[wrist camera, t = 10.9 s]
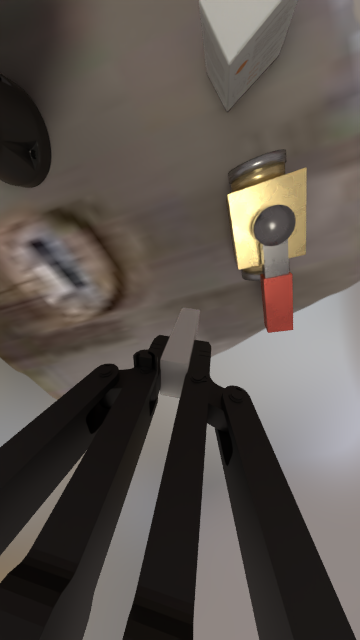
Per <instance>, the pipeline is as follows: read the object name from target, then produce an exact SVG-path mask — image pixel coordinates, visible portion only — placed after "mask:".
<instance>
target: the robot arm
mask: <svg viewBox="0 0 360 640" xmlns="http://www.w3.org/2000/svg"><path fill="white" fill-rule="evenodd" d="M49 165H50V143H49V138H48V134H47V130H46V127H45V124H44V122H43V119H42V117H41V115H40V113H39V111H38V109H37V107H36V106H35V104H34V103H33V101H32V100H31V99H30V97H29V96H28V95H27V94H26V93H25V91H24V90H23V89H21V88H20V87H19V86H18V85H17V84H15V83H14V82H12V81H11V80H9V79H8V78H6V77H5V76H3V75H1V74H0V180H2V181H3V182H5V183H8V184H11V185H14V186H20V187H34V186H37V185H38V184H40V183H41V182H42V181H43V180H44V178H45V177H46V175H47V173H48V170H49ZM199 315H200V310H197V309H189V308H182V309H181V312H180V314H179V316H178V319H177V321H176V323H175V326H174V328H173V330H172V333H171V335H170V336H163V335H159V336H157V337H156V338H154V340H153V342H152V344H151V346H150V348H149V349H148V350H140V351H138V352H136V353H135V354H134V355H133V358H134V368H132V369H126V370H119V369H118V367H117V366H116V365H114V364H104V365H100V366H99V367H97V368H96V369H95V370H93V371H92V372H91V373H90V374H89V375H87V376H86V377H85V378H84V379H82V380H81V381H80V382H79V383H78V384H76V385H75V386H74V387H73V388H72V389H70V390H69V391H68V392H67V393H66V394H64V395H63V396H62V397H61V398H59V399H58V400H57V401H56V402H55V403H54V404H52V405H51V406H50V407H49V408H47V409H46V410H45V411H44V412H43V413H41V414H40V415H39V416H38V417H37V418H35V419H34V420H33V421H32V422H30V423H29V424H28V425H27V426H26V427H25V428H23V429H22V430H21V431H20V432H18V433H17V434H16V435H15V436H13V437H12V438H11V439H10V440H9V441H7V442H6V443H5V444H4V445H3V446H1V447H0V555H1V554H2V553H3V551H4V550H5V549H6V548H7V547H8V545H9V544H10V543H11V542H12V541H13V539H14V538H15V537H16V536H17V534H18V533H19V532H20V531H21V530H22V528H23V527H24V526H25V525H26V523H27V522H28V521H29V520H30V519H31V517H32V516H33V515H34V514H35V512H36V511H37V510H38V509H39V508H40V506H41V505H42V504H43V503H44V502H45V500H46V499H47V498H48V497H49V495H50V494H51V493H52V492H53V490H54V489H55V488H56V487H57V486H58V484H59V483H60V482H61V481H62V480H63V478H64V477H65V476H66V475H67V474H68V472H69V471H70V470H71V469H72V467H73V466H74V465H75V464H76V463H77V461H78V460H79V459H80V458H81V456H82V455H83V454H84V453H85V452H86V453H85V455H84V456H83V458H82V460H81V462H80V464H79V465H78V467H77V469H76V470H75V472H74V474H73V476H72V478H71V479H70V481H69V483H68V484H67V486H66V488H65V490H64V492H63V493H62V495H61V497H60V499H59V500H58V502H57V504H56V505H55V507H54V509H53V511H52V513H51V514H50V516H49V518H48V520H47V521H46V523H45V525H44V527H43V528H42V530H41V532H40V534H39V535H38V537H37V539H36V541H35V542H34V544H33V546H32V548H31V549H30V551H29V553H28V554H27V556H26V557H25V558H24V559H23V561H22V562H21V563H20V564H19V565H17V566H16V567H15V568H14V569H13V570H12V571H11V572H9V573H8V574H7V576H6V577H5V578H4V579H3V580H2V582H1V583H0V640H82V639H83V636H84V633H85V630H86V626H87V623H88V619H89V615H90V611H91V606H92V600H93V595H94V591H95V588H96V585H97V581H98V579H99V576H100V573H101V570H102V567H103V564H104V561H105V558H106V555H107V552H108V549H109V546H110V542H111V540H112V537H113V534H114V531H115V528H116V525H117V522H118V519H119V516H120V513H121V510H122V507H123V504H124V501H125V498H126V495H127V492H128V489H129V486H130V483H131V480H132V477H133V474H134V471H135V468H136V465H137V462H138V459H139V456H140V453H141V450H142V447H143V444H144V441H145V438H146V435H147V432H148V429H149V426H150V423H151V420H152V417H153V415H154V412H155V408H156V406H157V403H158V394H159V391H160V394H162V395H166V396H171V397H176V398H180V400H179V405H178V409H177V414H176V418H175V422H174V427H173V431H172V436H171V440H170V444H169V449H168V453H167V458H166V462H165V466H164V471H163V475H162V480H161V484H160V488H159V493H158V498H157V502H156V506H155V510H154V515H153V519H152V524H151V528H150V533H149V537H148V541H147V546H146V550H145V555H144V560H143V563H142V568H141V572H140V577H139V581H138V585H137V590H136V594H135V598H134V601H133V605H132V608H131V611H130V614H129V617H128V621H127V625H126V628H125V632H124V636H123V640H193V617H194V600H195V586H196V570H197V557H198V543H199V528H200V514H201V500H202V485H203V471H204V456H205V442H206V441H205V440H206V427H207V423H208V424H210V425H211V426H213V427H215V432H216V436H217V441H218V446H219V450H220V455H221V460H222V465H223V469H224V474H225V479H226V483H227V489H228V493H229V498H230V503H231V508H232V512H233V517H234V522H235V526H236V531H237V536H238V541H239V545H240V550H241V555H242V560H243V564H244V569H245V574H246V579H247V583H248V588H249V593H250V598H251V602H252V606H253V612H254V617H255V621H256V626H257V631H258V635H259V640H356V638H355V636H354V633H353V631H352V629H351V626H350V624H349V622H348V620H347V617H346V615H345V613H344V611H343V608H342V606H341V604H340V601H339V599H338V597H337V595H336V592H335V590H334V588H333V585H332V583H331V581H330V579H329V577H328V574H327V572H326V569H325V567H324V565H323V563H322V560H321V558H320V556H319V553H318V551H317V549H316V547H315V544H314V542H313V540H312V538H311V535H310V533H309V531H308V529H307V526H306V524H305V522H304V519H303V517H302V515H301V513H300V510H299V508H298V506H297V504H296V501H295V499H294V496H293V494H292V492H291V490H290V487H289V486H288V483H287V480H286V478H285V476H284V474H283V472H282V469H281V467H280V465H279V462H278V460H277V458H276V455H275V453H274V451H273V448H272V446H271V444H270V442H269V439H268V437H267V435H266V433H265V430H264V428H263V426H262V423H261V421H260V419H259V417H258V414H257V412H256V410H255V407H254V405H253V403H252V401H251V398H250V396H249V395H248V393H247V392H246V391H245V390H244V389H242V388H240V387H238V386H227V387H226V388H223V387H221V386H218V385H217V384H215V383H214V382H213V381H212V379H211V378H210V359H211V345H210V344H209V342H205V341H199V340H196V339H197V332H198V323H199ZM86 450H87V451H86Z"/></svg>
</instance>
